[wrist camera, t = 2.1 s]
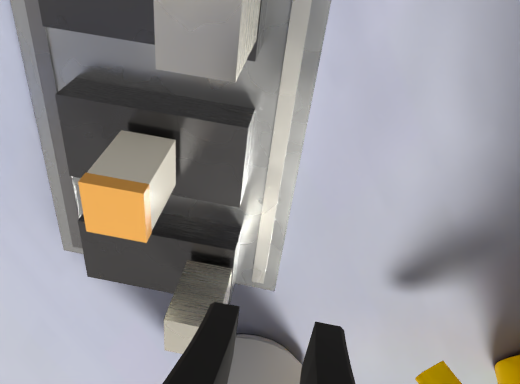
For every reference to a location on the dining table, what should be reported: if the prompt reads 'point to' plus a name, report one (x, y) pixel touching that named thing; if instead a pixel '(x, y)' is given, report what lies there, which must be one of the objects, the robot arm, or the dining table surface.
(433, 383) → the figure statuette
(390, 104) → the dining table surface
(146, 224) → the handle
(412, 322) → the dining table surface
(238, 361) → the can
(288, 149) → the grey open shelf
